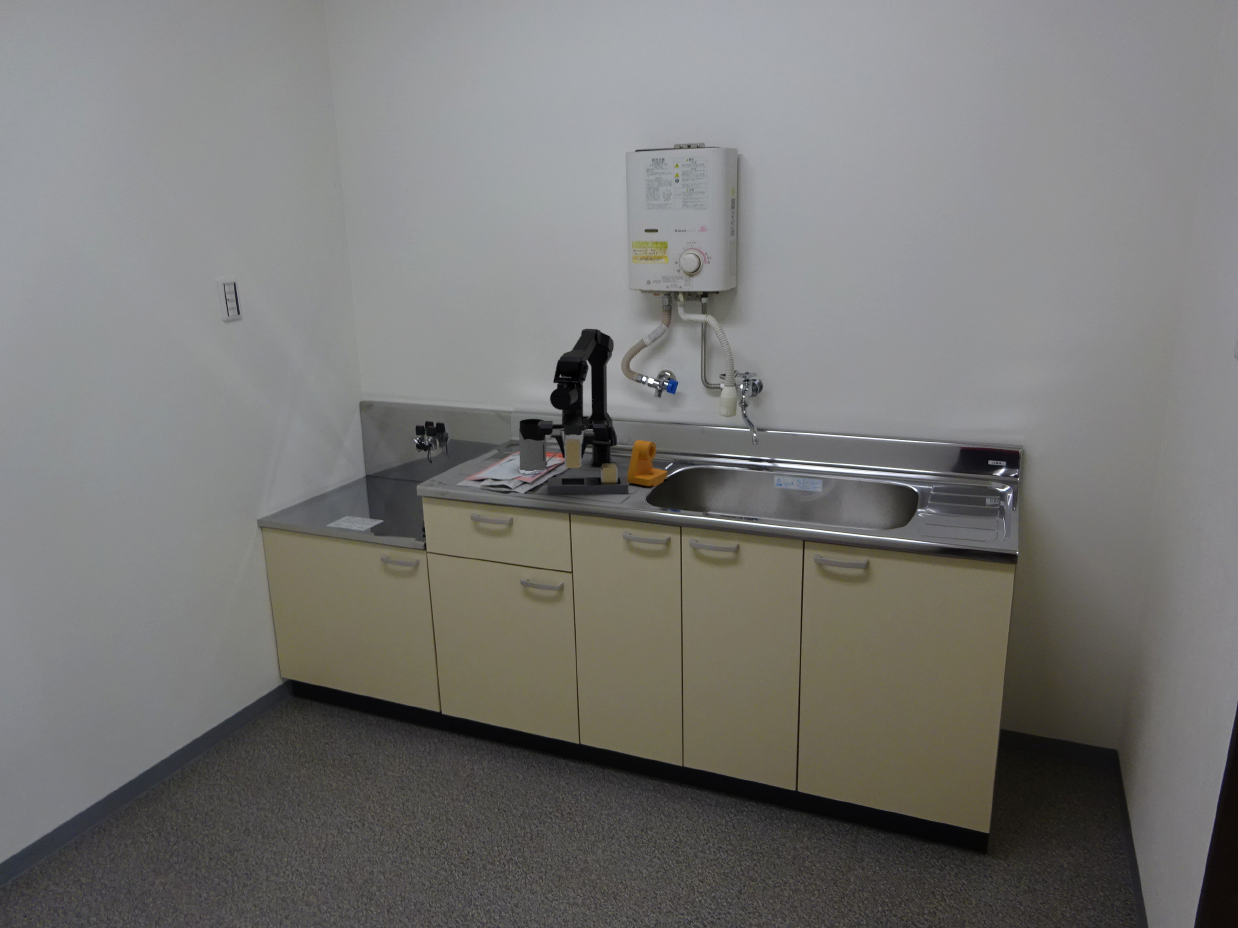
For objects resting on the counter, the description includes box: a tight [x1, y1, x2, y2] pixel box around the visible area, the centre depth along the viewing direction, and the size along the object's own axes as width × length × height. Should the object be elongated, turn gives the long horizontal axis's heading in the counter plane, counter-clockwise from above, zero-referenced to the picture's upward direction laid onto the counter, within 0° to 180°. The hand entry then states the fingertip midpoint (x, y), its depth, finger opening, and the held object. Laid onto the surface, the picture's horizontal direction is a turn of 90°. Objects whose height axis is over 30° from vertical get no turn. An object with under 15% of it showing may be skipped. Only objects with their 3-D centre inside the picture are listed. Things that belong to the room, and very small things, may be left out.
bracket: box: [626, 439, 668, 487], centre depth 249 cm, size 11×7×12 cm
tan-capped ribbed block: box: [600, 463, 619, 485], centre depth 242 cm, size 4×4×7 cm
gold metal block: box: [564, 438, 582, 469], centre depth 239 cm, size 4×4×7 cm
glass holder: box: [518, 418, 567, 471], centre depth 259 cm, size 9×14×15 cm, turn 87°
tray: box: [546, 476, 629, 496], centre depth 242 cm, size 8×22×2 cm, turn 93°
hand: (572, 458), depth 240 cm, fingers closed on gold metal block, 4 cm apart
